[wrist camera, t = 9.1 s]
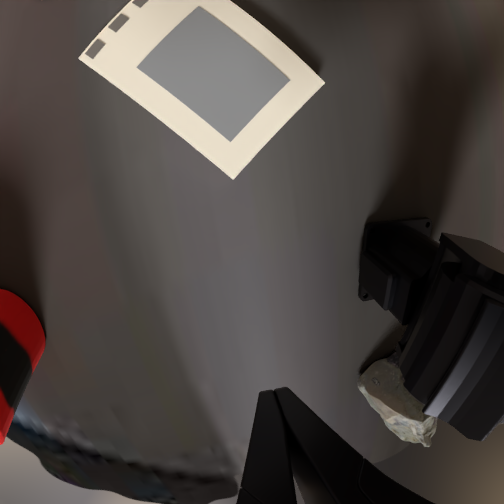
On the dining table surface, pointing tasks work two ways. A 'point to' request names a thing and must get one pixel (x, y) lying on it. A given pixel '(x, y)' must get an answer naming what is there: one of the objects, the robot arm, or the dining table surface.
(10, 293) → the soda can
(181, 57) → the pad
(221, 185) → the dining table surface
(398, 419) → the mineral rock
